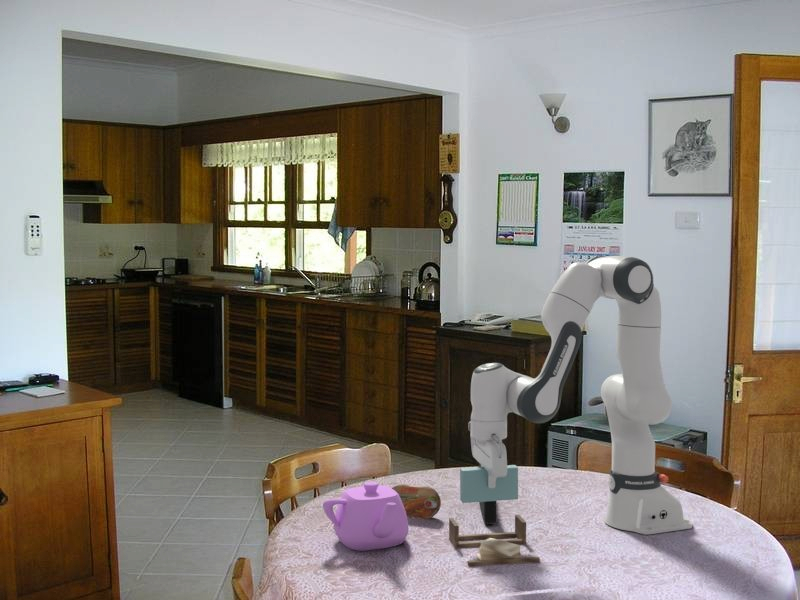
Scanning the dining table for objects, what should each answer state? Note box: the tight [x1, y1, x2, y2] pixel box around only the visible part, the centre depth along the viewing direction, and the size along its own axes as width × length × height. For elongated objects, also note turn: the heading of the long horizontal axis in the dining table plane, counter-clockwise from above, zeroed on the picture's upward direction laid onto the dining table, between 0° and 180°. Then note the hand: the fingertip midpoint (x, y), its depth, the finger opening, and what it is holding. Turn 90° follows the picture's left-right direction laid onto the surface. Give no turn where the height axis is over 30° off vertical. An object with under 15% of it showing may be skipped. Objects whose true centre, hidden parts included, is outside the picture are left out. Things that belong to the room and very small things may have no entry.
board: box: [459, 464, 519, 504], centre depth 218 cm, size 14×2×8 cm, turn 100°
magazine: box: [477, 463, 498, 525], centre depth 244 cm, size 17×3×30 cm
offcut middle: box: [479, 546, 522, 560], centre depth 209 cm, size 9×5×2 cm, turn 90°
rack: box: [448, 514, 541, 567], centre depth 213 cm, size 18×18×6 cm
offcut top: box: [480, 538, 521, 557], centre depth 209 cm, size 8×4×2 cm, turn 50°
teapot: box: [322, 481, 409, 552], centre depth 215 cm, size 23×21×15 cm
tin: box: [391, 483, 442, 520], centre depth 240 cm, size 15×3×8 cm, turn 68°
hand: (489, 485), depth 218 cm, fingers closed on board, 2 cm apart
